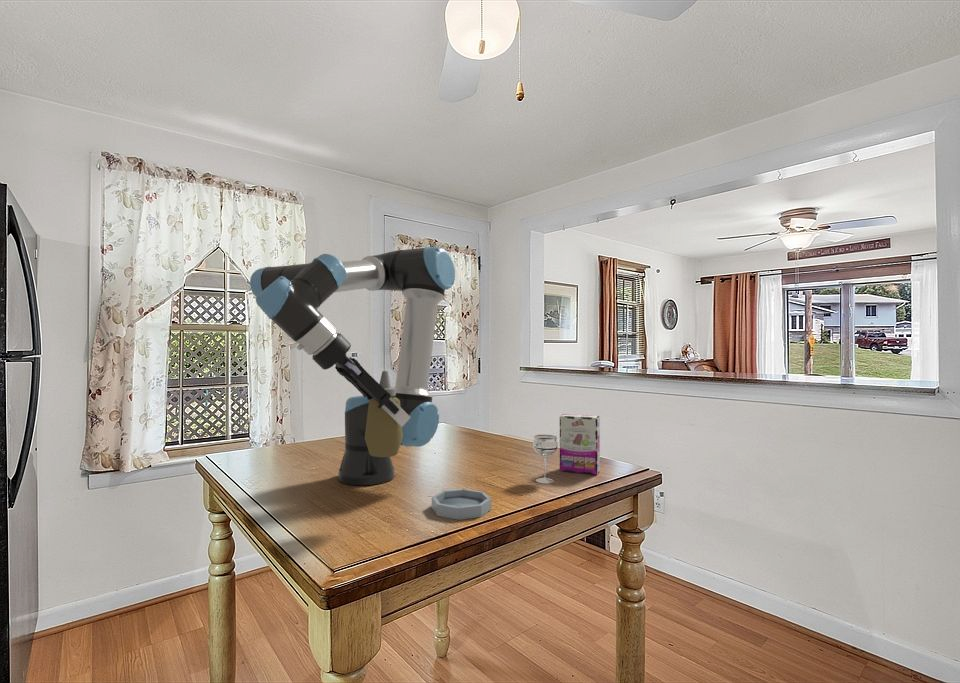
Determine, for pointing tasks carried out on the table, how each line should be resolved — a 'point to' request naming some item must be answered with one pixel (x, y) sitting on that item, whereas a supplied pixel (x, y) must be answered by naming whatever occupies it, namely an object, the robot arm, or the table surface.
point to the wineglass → (545, 451)
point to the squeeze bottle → (383, 425)
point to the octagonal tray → (461, 504)
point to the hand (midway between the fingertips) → (400, 419)
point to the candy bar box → (580, 443)
